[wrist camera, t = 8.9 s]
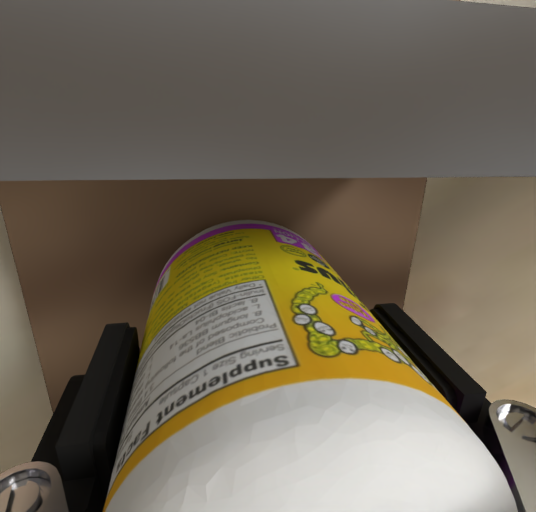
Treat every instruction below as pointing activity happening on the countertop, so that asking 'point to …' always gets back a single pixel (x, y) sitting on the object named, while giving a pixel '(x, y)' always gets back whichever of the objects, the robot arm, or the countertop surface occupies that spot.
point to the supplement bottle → (285, 395)
